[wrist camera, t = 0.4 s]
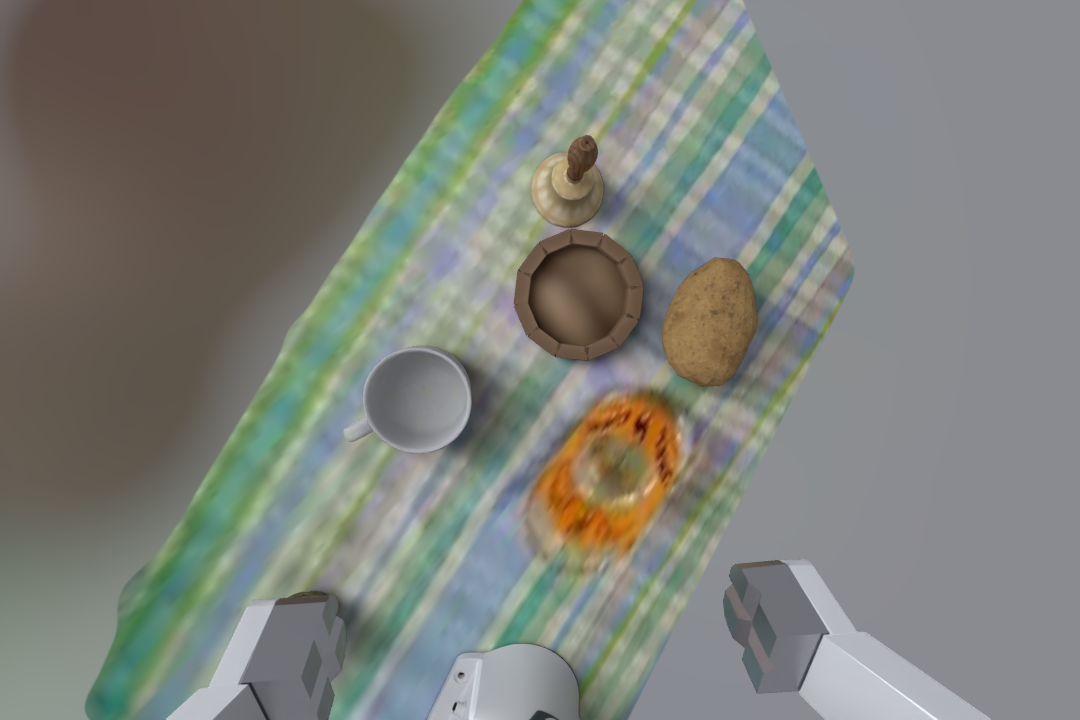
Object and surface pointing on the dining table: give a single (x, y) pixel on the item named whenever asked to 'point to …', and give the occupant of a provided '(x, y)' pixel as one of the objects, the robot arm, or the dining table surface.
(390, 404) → the teacup
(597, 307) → the tray
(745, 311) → the potato
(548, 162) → the hand bell
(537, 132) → the dining table surface
